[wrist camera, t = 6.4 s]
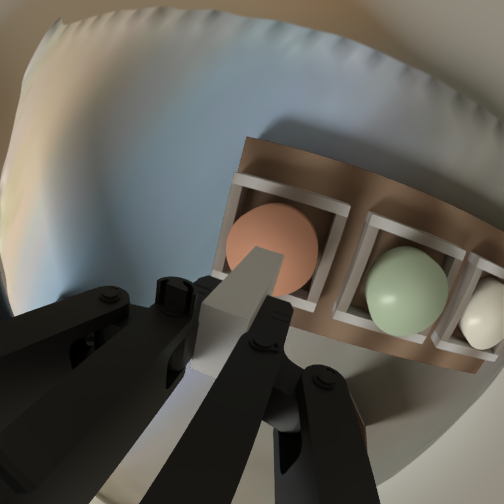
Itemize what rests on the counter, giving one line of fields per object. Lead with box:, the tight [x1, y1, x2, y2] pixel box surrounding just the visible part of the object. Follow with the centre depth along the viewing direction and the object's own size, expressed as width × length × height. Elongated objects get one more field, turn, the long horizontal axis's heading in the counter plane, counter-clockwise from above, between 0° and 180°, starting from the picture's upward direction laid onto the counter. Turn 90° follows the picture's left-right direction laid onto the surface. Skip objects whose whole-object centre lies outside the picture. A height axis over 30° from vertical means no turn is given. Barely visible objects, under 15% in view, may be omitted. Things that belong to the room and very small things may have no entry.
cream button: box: [458, 277, 504, 350], centre depth 18 cm, size 6×6×2 cm
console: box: [211, 137, 504, 374], centre depth 21 cm, size 29×14×5 cm, turn 76°
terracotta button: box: [226, 203, 318, 296], centre depth 19 cm, size 6×6×2 cm
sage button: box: [364, 246, 448, 336], centre depth 18 cm, size 6×6×2 cm
